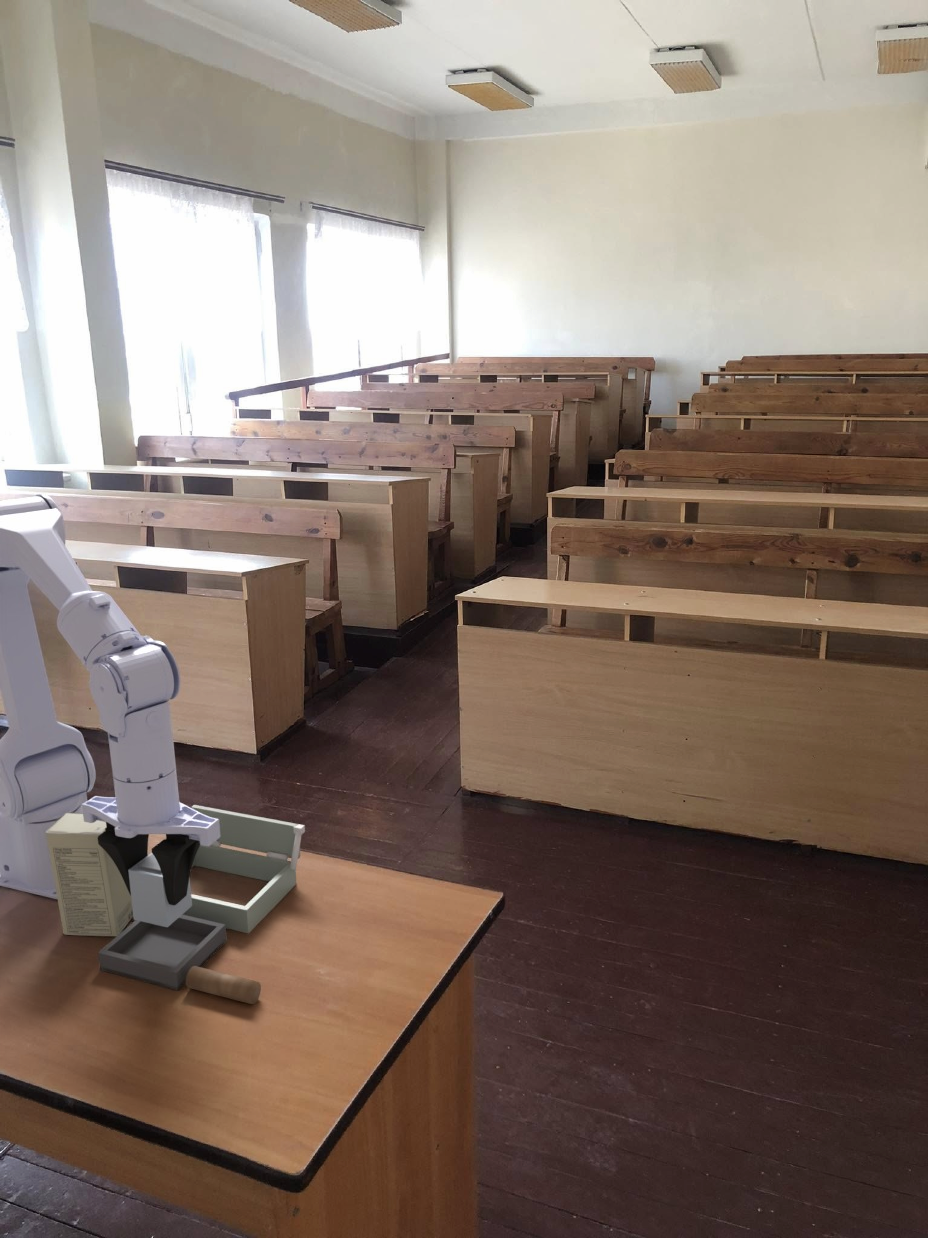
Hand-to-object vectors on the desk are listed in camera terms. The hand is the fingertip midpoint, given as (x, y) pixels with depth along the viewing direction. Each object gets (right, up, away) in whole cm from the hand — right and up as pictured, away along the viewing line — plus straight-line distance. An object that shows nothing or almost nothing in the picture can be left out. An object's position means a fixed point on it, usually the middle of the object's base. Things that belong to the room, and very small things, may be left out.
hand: (158, 895), depth 93 cm
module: (0, -2, +1) cm, 2 cm away
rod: (+7, -8, -4) cm, 12 cm away
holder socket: (0, -7, +2) cm, 7 cm away
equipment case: (+3, -4, +12) cm, 13 cm away
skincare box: (-9, -5, +7) cm, 12 cm away
